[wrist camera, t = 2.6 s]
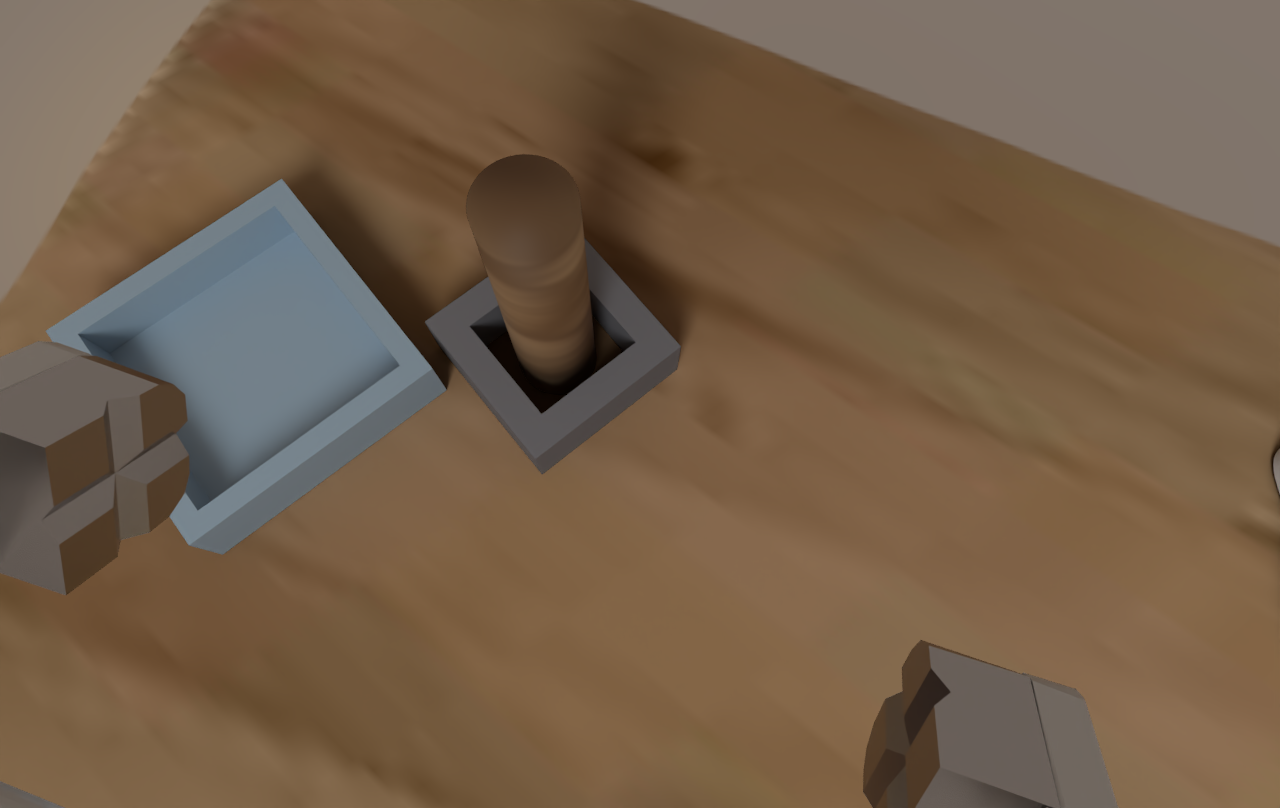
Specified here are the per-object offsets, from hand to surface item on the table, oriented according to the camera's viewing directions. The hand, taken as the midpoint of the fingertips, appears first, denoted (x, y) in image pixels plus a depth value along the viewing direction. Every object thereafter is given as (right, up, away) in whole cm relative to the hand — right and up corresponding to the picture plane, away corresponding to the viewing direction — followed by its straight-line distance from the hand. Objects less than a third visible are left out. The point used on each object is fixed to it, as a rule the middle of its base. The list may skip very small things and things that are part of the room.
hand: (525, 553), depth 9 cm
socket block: (-3, +4, +31) cm, 31 cm away
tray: (-16, +3, +31) cm, 35 cm away
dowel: (-3, +4, +31) cm, 31 cm away
